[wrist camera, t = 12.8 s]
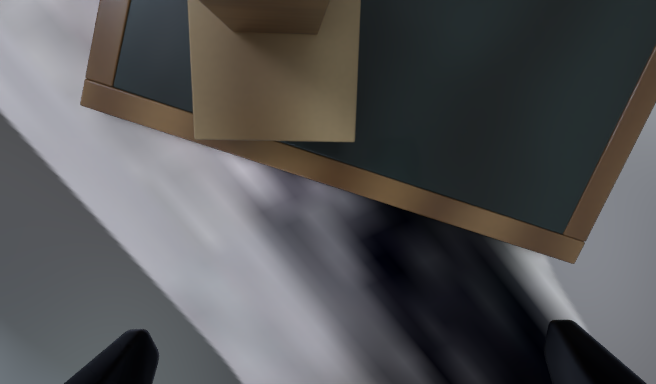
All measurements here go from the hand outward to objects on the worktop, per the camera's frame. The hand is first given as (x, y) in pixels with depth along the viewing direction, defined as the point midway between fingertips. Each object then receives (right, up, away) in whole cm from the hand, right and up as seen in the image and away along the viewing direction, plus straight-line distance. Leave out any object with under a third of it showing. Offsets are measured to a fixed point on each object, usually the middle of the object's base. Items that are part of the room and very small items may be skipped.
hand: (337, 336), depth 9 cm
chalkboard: (+3, +11, +9) cm, 14 cm away
